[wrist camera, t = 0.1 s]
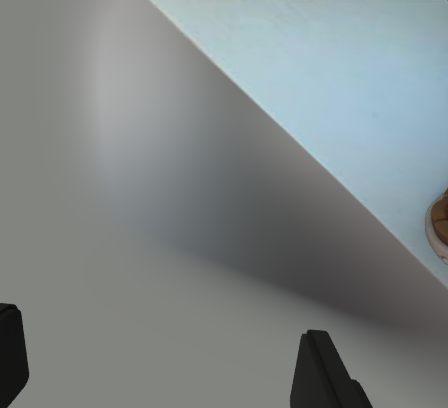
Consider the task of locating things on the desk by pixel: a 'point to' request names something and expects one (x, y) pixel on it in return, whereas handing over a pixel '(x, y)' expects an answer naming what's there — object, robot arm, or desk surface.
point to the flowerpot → (438, 226)
